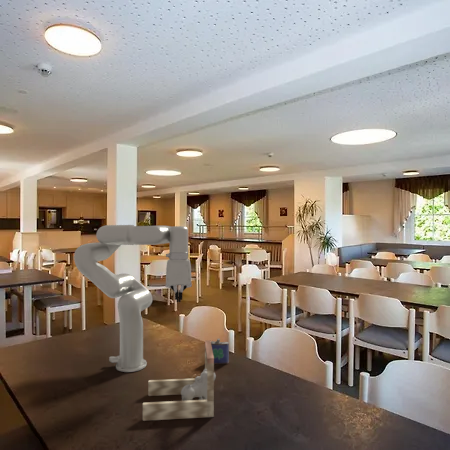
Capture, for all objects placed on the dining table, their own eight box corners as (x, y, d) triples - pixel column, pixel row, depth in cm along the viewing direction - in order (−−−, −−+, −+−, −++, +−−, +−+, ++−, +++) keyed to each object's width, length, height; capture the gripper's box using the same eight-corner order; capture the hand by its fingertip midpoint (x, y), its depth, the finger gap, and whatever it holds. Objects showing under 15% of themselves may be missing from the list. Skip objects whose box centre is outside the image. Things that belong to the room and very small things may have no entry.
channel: (142, 420, 107) (142, 360, 107) (148, 394, 123) (148, 342, 123) (213, 416, 109) (213, 358, 109) (210, 391, 125) (210, 340, 125)
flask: (228, 361, 152) (228, 337, 152) (228, 364, 149) (228, 340, 149) (207, 361, 152) (207, 337, 152) (207, 364, 149) (207, 339, 149)
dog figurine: (218, 400, 119) (219, 370, 119) (186, 412, 111) (187, 380, 111) (209, 394, 123) (210, 364, 123) (178, 405, 116) (178, 374, 115)
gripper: (159, 257, 136) (159, 304, 136) (197, 257, 137) (197, 303, 138) (160, 255, 143) (160, 299, 143) (196, 255, 145) (196, 299, 145)
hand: (178, 301), depth 141 cm, fingers closed
